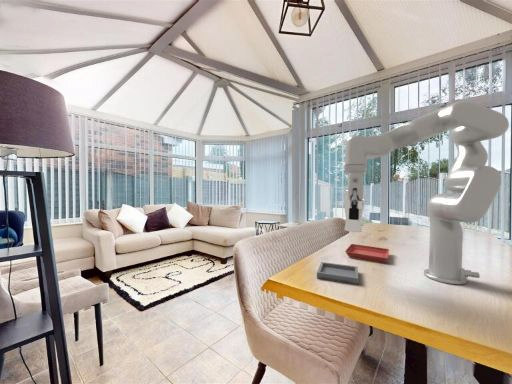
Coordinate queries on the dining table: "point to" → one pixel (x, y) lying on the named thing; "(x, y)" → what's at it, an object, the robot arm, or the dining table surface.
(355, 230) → the beer glass
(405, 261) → the dining table surface
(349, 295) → the dining table surface
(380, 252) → the plant saucer
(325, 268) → the serving tray
